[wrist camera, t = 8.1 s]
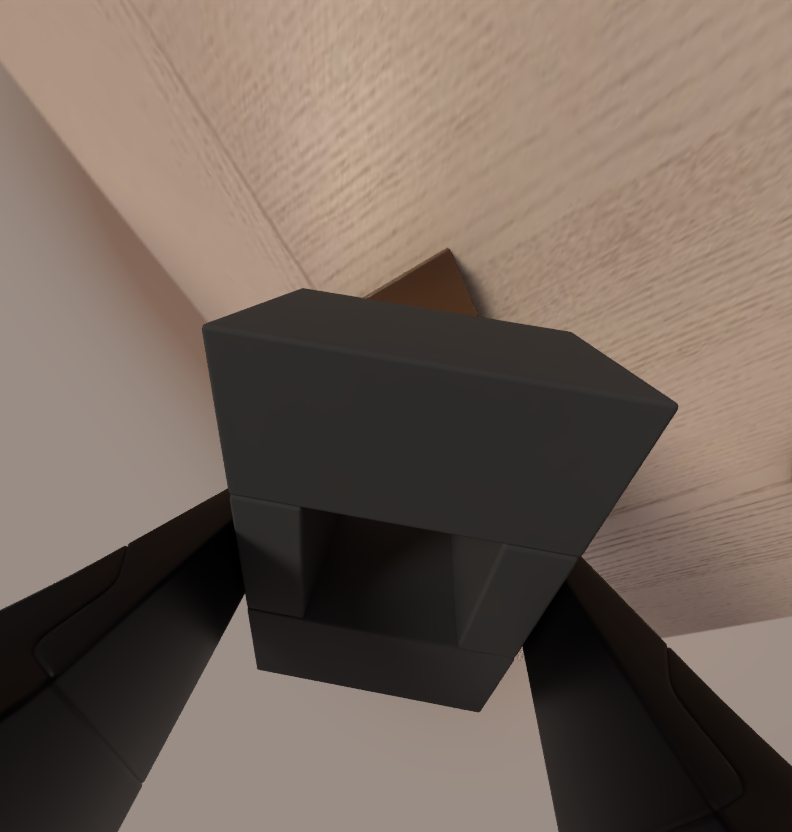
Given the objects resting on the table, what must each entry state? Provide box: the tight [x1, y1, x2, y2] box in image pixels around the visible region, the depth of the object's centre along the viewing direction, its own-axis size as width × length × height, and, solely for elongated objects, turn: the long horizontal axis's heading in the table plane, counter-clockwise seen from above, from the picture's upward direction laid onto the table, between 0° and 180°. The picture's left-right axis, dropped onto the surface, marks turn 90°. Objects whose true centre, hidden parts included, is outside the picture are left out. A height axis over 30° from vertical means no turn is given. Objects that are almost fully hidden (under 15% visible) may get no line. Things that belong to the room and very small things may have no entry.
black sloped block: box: [202, 288, 678, 712], centre depth 8 cm, size 9×6×4 cm, turn 172°
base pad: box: [363, 248, 478, 317], centre depth 15 cm, size 10×8×5 cm
